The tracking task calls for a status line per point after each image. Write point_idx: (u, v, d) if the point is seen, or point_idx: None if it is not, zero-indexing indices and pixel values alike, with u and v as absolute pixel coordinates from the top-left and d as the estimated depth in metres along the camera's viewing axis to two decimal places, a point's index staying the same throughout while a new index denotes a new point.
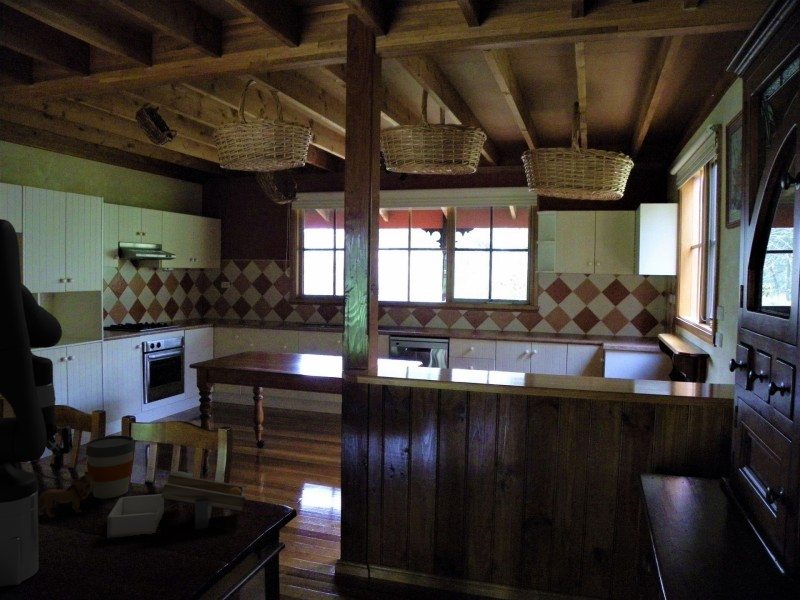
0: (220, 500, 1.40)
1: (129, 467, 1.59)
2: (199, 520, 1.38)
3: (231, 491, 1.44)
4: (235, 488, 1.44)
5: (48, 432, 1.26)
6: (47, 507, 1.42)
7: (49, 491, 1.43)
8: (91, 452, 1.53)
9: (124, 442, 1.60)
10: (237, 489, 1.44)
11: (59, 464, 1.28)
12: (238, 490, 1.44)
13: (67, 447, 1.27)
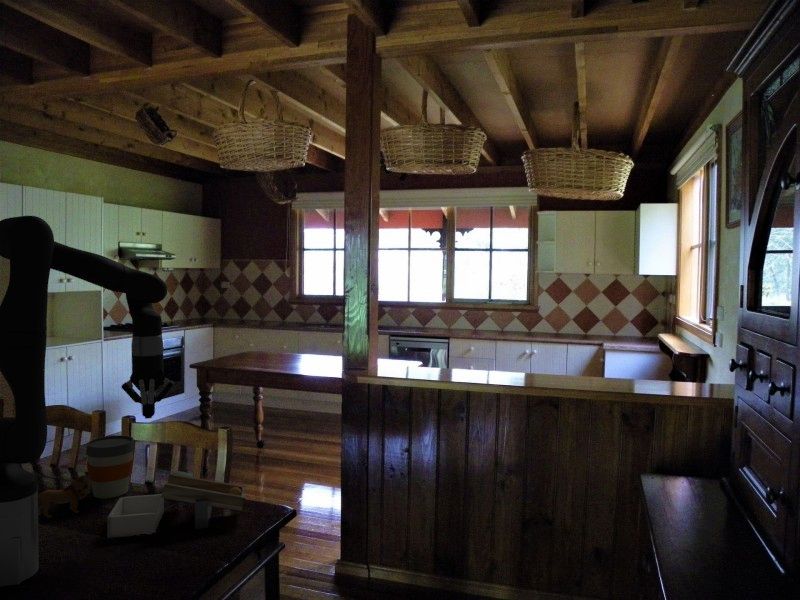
0: (220, 500, 1.40)
1: (129, 467, 1.59)
2: (199, 520, 1.38)
3: (231, 491, 1.44)
4: (235, 488, 1.44)
5: (159, 382, 1.43)
6: (45, 507, 1.42)
7: (47, 491, 1.43)
8: (91, 452, 1.53)
9: (124, 442, 1.60)
10: (237, 489, 1.44)
11: (152, 411, 1.44)
12: (238, 490, 1.44)
13: (159, 396, 1.43)
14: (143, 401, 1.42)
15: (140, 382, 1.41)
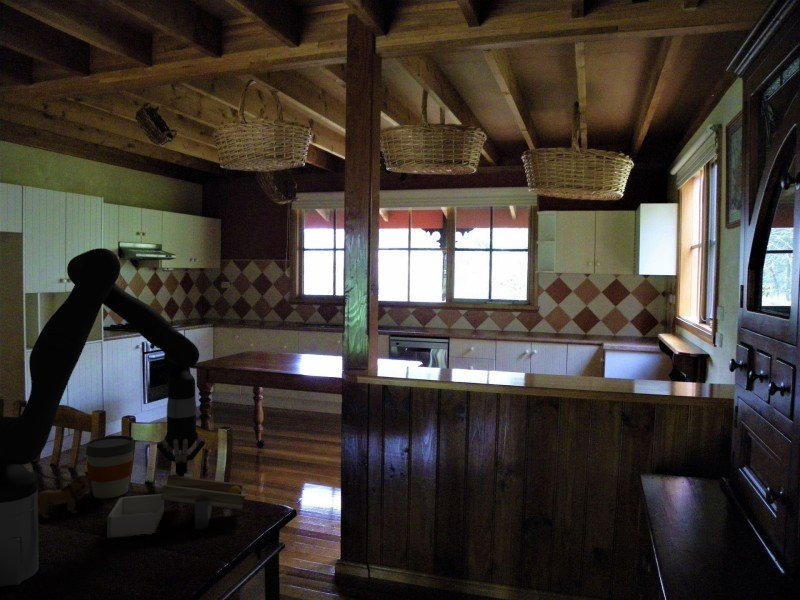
0: (220, 499, 1.40)
1: (129, 467, 1.59)
2: (199, 520, 1.38)
3: (231, 490, 1.44)
4: (235, 487, 1.44)
5: (192, 441, 1.51)
6: (42, 508, 1.42)
7: (44, 492, 1.43)
8: (91, 452, 1.53)
9: (124, 442, 1.60)
10: (237, 488, 1.44)
11: (184, 469, 1.51)
12: (238, 489, 1.44)
13: (192, 455, 1.51)
14: (177, 460, 1.50)
15: (175, 442, 1.49)
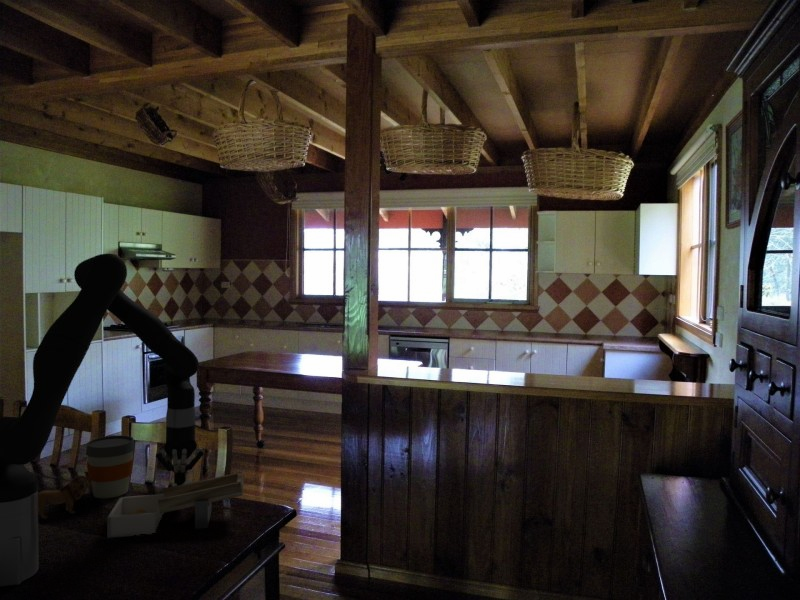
0: (218, 494, 1.40)
1: (129, 467, 1.59)
2: (199, 520, 1.38)
3: None
4: None
5: (190, 451, 1.51)
6: (40, 508, 1.42)
7: (42, 492, 1.42)
8: (91, 452, 1.53)
9: (124, 442, 1.60)
10: None
11: (183, 479, 1.51)
12: None
13: (190, 464, 1.51)
14: (175, 469, 1.50)
15: (173, 452, 1.49)
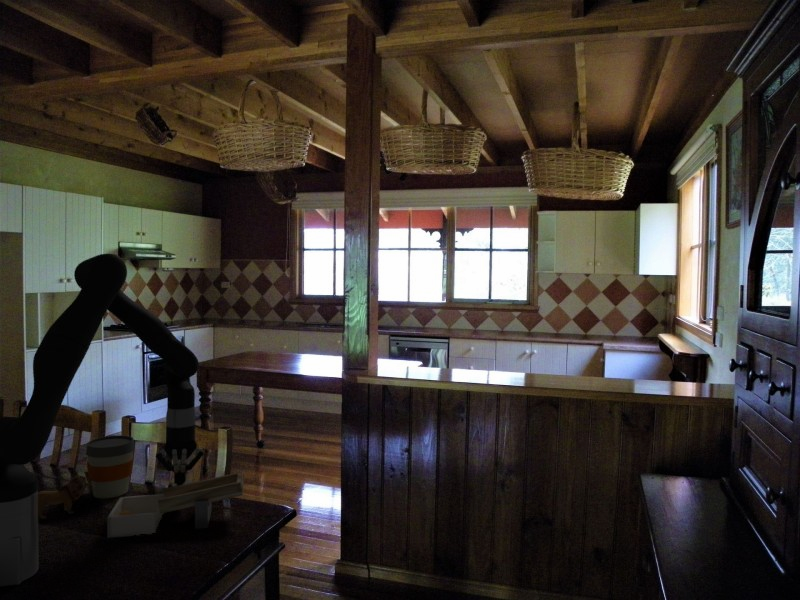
0: (217, 494, 1.40)
1: (129, 467, 1.59)
2: (199, 520, 1.38)
3: None
4: None
5: (190, 451, 1.51)
6: (39, 509, 1.41)
7: (41, 492, 1.42)
8: (91, 452, 1.53)
9: (124, 442, 1.60)
10: None
11: (183, 479, 1.51)
12: None
13: (190, 464, 1.51)
14: (175, 469, 1.50)
15: (173, 452, 1.49)
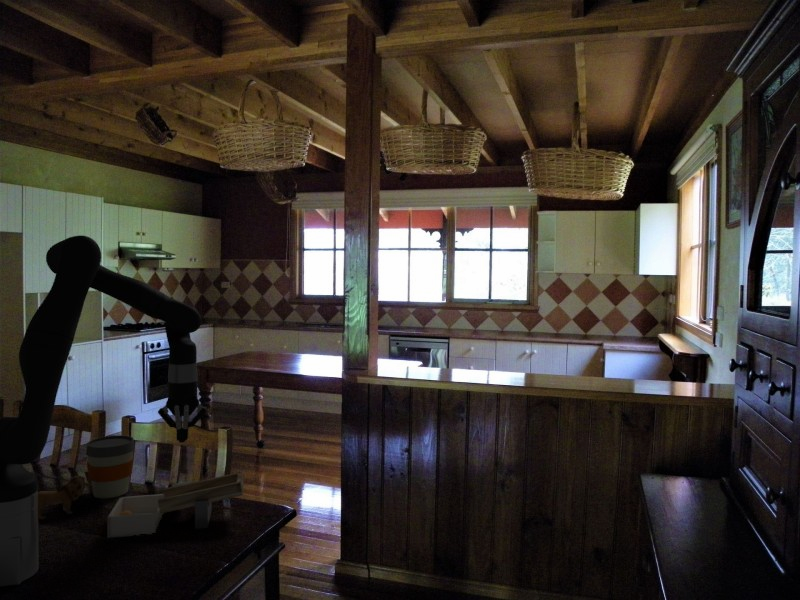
0: (217, 494, 1.40)
1: (129, 467, 1.59)
2: (199, 520, 1.38)
3: None
4: None
5: (193, 408, 1.51)
6: (38, 509, 1.41)
7: (40, 493, 1.42)
8: (91, 452, 1.53)
9: (124, 442, 1.60)
10: None
11: (185, 436, 1.51)
12: None
13: (193, 421, 1.51)
14: (178, 426, 1.50)
15: (176, 408, 1.49)
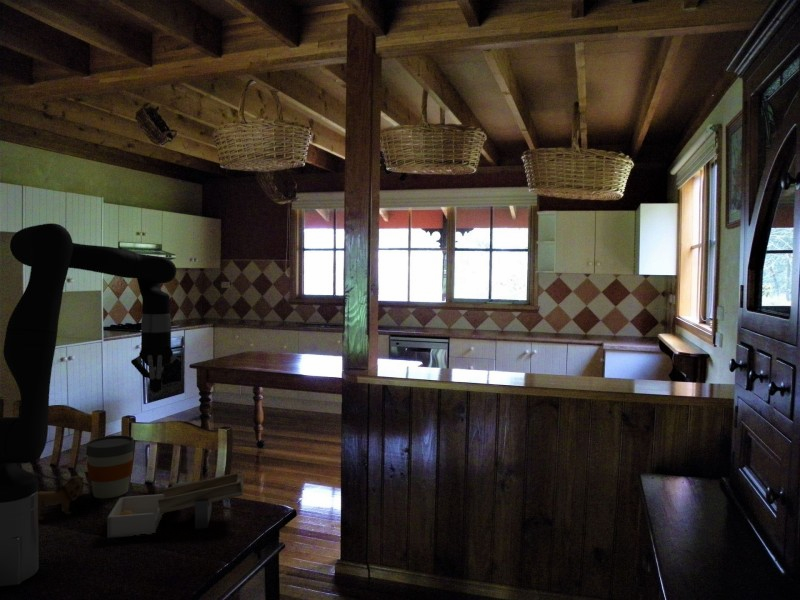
0: (217, 494, 1.40)
1: (129, 467, 1.59)
2: (199, 520, 1.38)
3: None
4: None
5: (166, 358, 1.51)
6: None
7: (38, 493, 1.42)
8: (91, 452, 1.53)
9: (124, 442, 1.60)
10: None
11: (159, 386, 1.52)
12: None
13: (166, 371, 1.51)
14: (151, 376, 1.51)
15: (149, 358, 1.50)
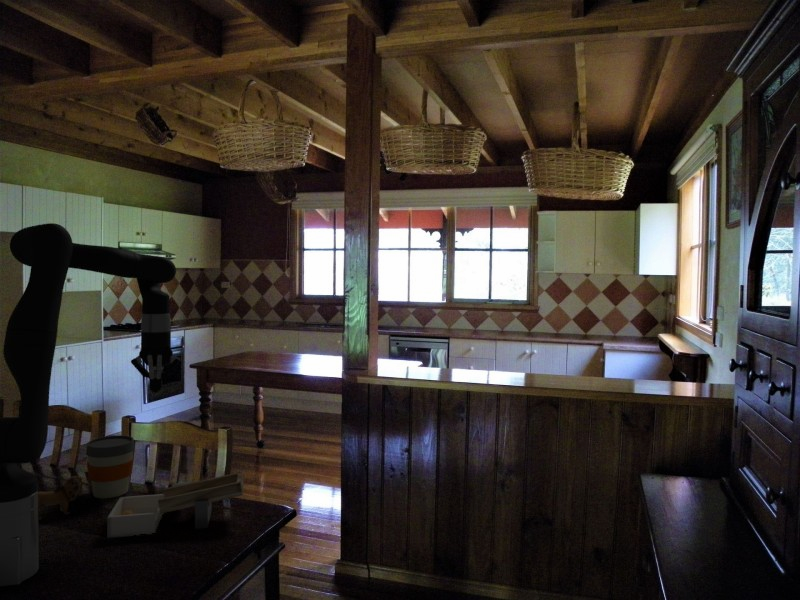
0: (217, 494, 1.40)
1: (129, 467, 1.59)
2: (199, 520, 1.38)
3: None
4: None
5: (166, 358, 1.51)
6: None
7: None
8: (91, 452, 1.53)
9: (124, 442, 1.60)
10: None
11: (159, 386, 1.52)
12: None
13: (166, 371, 1.51)
14: (151, 376, 1.51)
15: (149, 358, 1.50)
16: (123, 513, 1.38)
